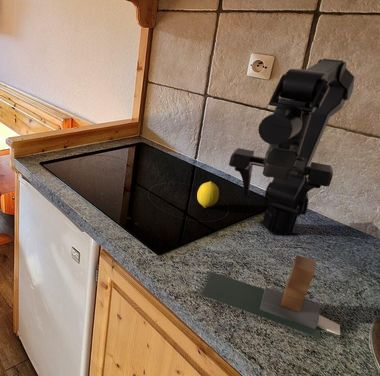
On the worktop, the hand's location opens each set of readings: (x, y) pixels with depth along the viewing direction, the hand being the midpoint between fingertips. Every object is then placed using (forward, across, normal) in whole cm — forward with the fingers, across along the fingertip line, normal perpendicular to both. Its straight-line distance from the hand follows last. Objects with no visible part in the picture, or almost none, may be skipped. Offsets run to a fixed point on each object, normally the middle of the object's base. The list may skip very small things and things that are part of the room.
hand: (268, 202), depth 89 cm
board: (+13, +4, -19) cm, 24 cm away
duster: (+12, +8, -19) cm, 24 cm away
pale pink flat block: (+13, +15, -19) cm, 27 cm away
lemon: (+13, -15, +16) cm, 26 cm away
